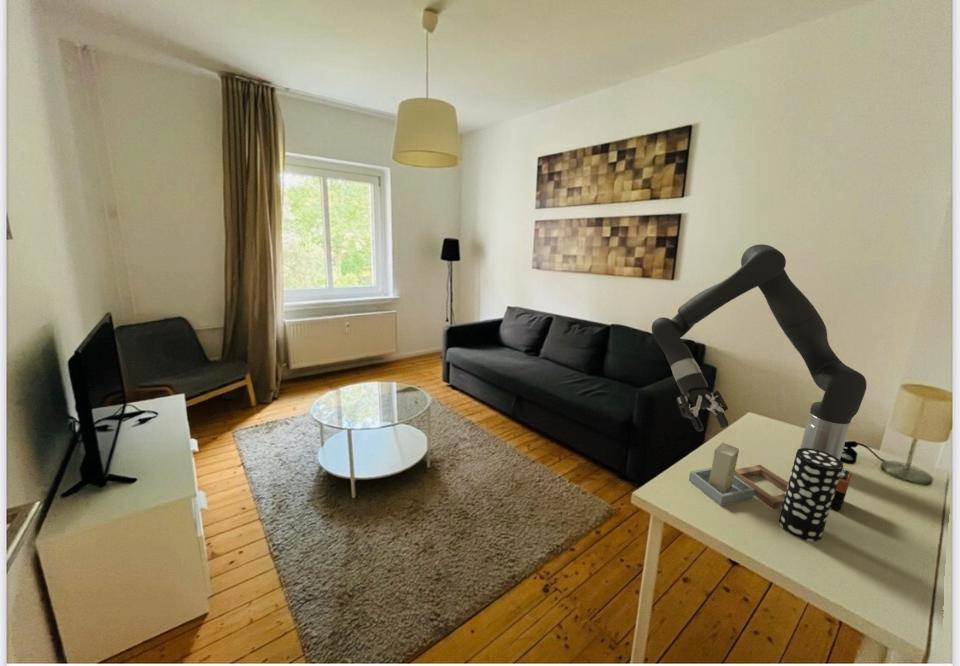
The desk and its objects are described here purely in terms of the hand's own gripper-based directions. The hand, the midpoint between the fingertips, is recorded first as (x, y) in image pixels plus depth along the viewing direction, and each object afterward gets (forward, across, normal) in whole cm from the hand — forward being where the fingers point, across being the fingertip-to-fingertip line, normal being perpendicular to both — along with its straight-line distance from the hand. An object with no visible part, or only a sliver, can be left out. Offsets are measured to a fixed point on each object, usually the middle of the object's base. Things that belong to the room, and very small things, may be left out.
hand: (713, 428), depth 110 cm
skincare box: (+15, 0, +7) cm, 17 cm away
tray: (+15, 0, +8) cm, 17 cm away
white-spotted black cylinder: (+27, +7, -4) cm, 29 cm away
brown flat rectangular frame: (+18, +13, +5) cm, 22 cm away
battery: (+24, +25, -1) cm, 35 cm away
